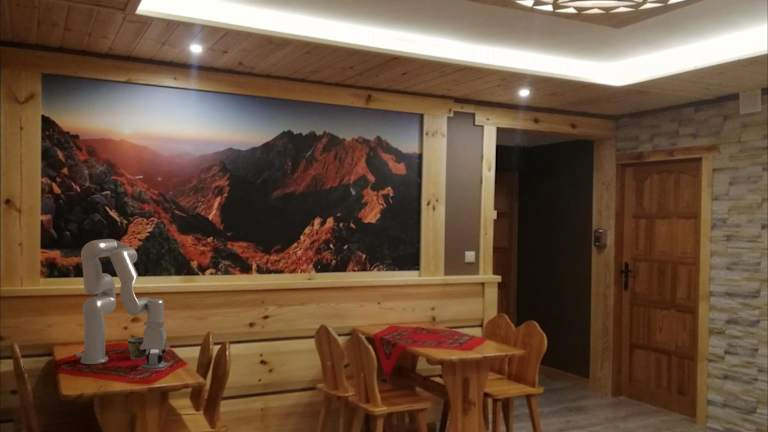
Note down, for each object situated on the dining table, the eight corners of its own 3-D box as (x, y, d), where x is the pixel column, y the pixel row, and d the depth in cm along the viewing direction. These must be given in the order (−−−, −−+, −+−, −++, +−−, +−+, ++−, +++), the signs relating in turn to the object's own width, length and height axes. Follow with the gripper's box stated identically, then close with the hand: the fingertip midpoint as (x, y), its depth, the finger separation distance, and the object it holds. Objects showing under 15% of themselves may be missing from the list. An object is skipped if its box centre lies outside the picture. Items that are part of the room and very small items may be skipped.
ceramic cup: (128, 356, 344) (128, 337, 344) (149, 356, 347) (149, 336, 346) (125, 363, 332) (125, 342, 331) (146, 362, 334) (147, 342, 334)
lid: (138, 368, 321) (139, 356, 320) (147, 362, 332) (147, 350, 331) (162, 369, 321) (162, 356, 320) (169, 363, 332) (169, 351, 331)
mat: (136, 370, 320) (136, 369, 320) (145, 363, 333) (145, 362, 333) (163, 371, 320) (163, 370, 320) (172, 364, 333) (172, 363, 333)
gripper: (134, 326, 322) (134, 364, 322) (170, 327, 322) (169, 365, 322) (140, 322, 329) (139, 360, 330) (175, 324, 329) (174, 361, 330)
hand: (154, 362), depth 326 cm, fingers open, 4 cm apart
